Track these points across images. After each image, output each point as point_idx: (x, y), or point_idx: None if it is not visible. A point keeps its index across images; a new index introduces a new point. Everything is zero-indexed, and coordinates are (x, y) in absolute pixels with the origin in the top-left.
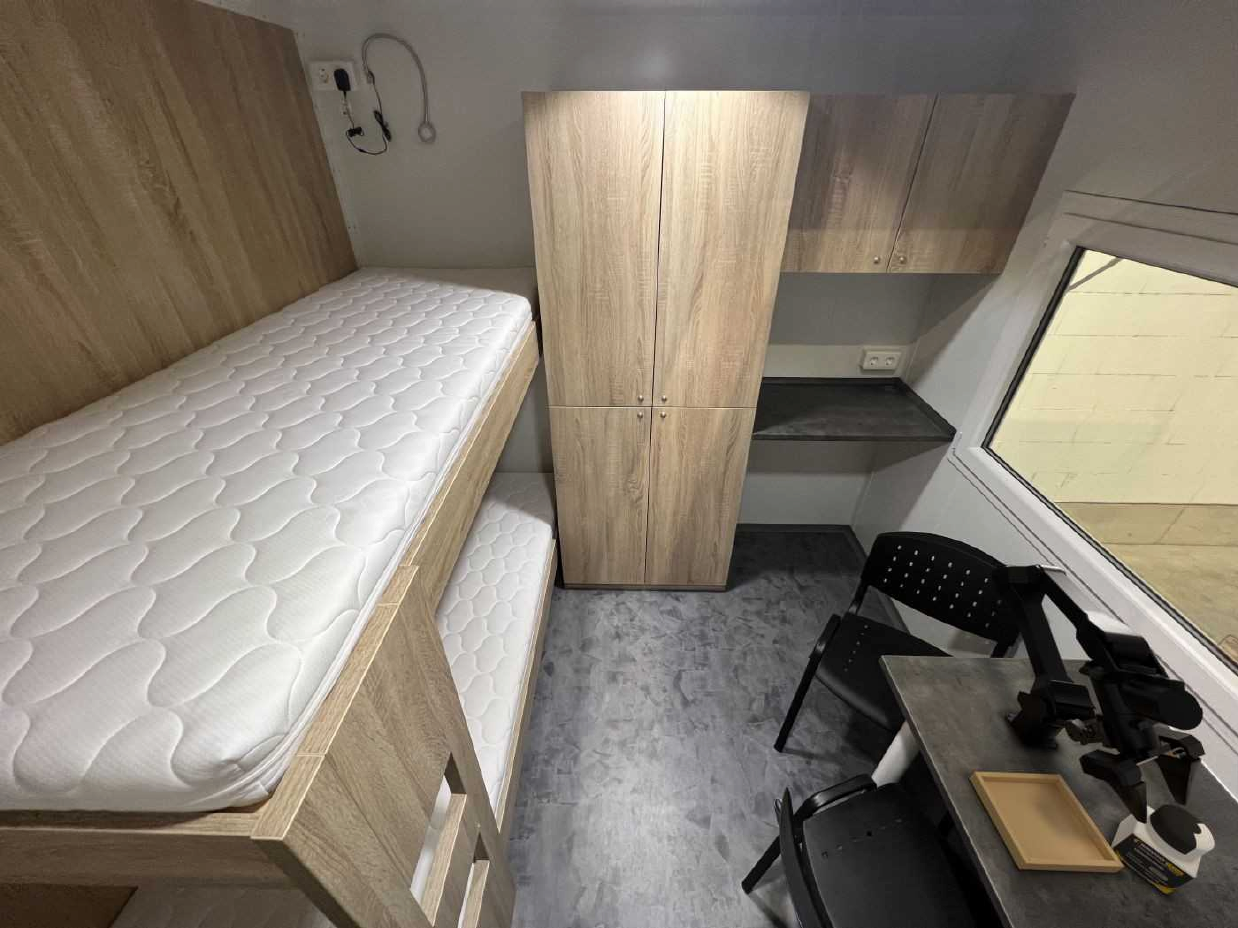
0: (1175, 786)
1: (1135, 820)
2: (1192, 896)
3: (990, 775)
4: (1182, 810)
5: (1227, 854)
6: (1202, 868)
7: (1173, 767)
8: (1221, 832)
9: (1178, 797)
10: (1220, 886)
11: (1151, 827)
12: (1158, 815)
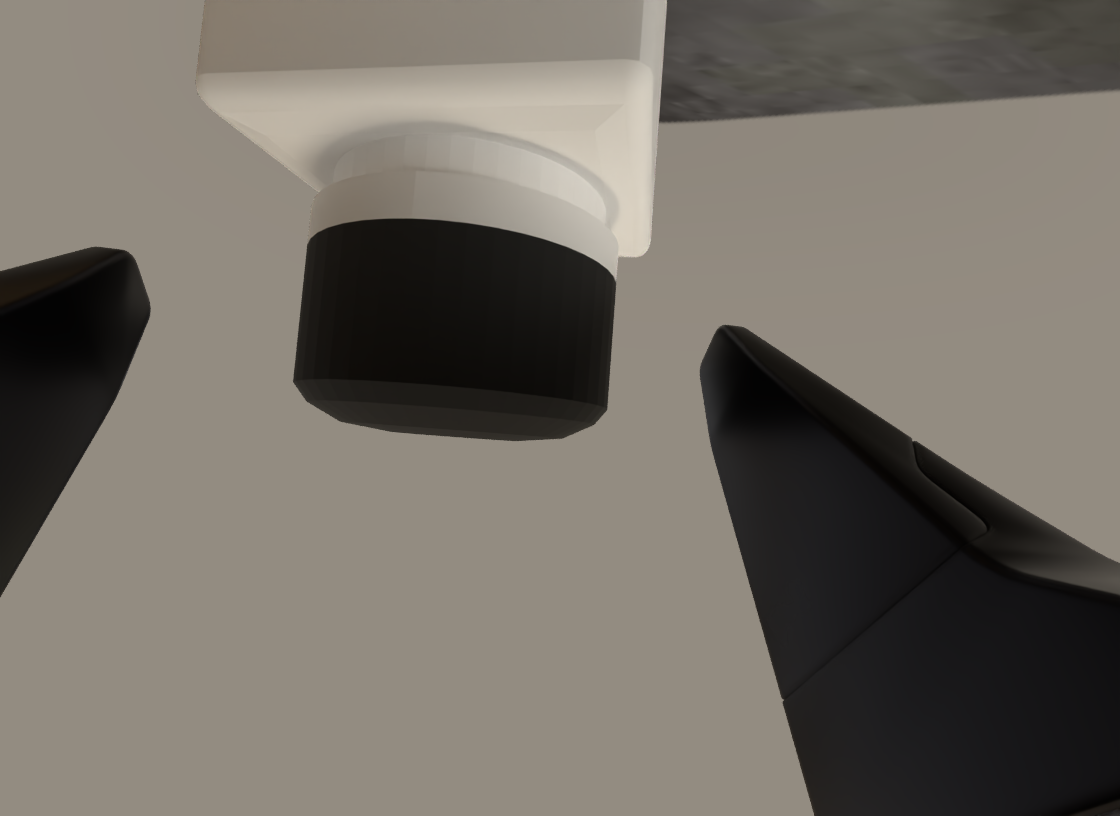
0: (767, 463)
1: (396, 22)
2: None
3: None
4: (532, 436)
5: (930, 102)
6: (747, 64)
7: (870, 689)
8: (1086, 77)
9: (725, 387)
10: (708, 107)
11: (320, 216)
12: (334, 351)
